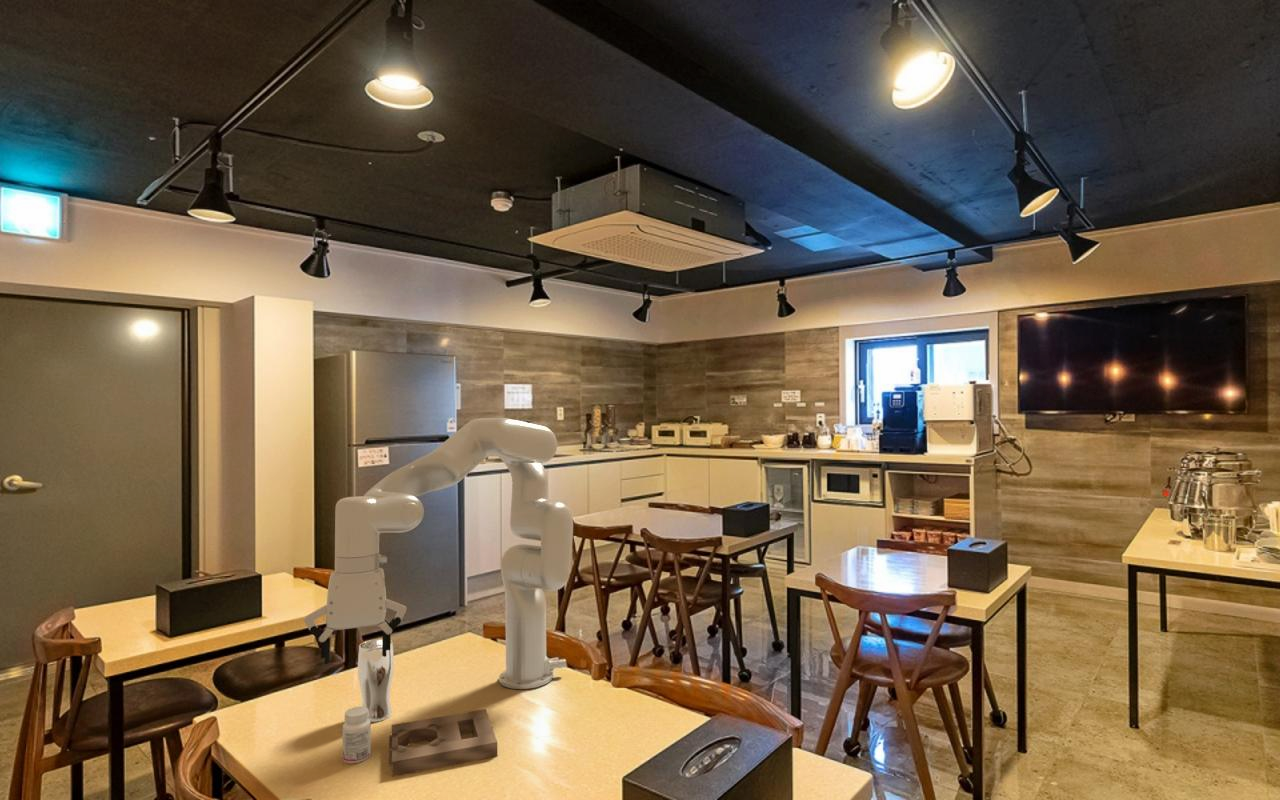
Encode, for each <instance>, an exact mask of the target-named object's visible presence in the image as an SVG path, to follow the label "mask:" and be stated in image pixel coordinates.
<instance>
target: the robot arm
mask: <svg viewBox="0 0 1280 800" xmlns="http://www.w3.org/2000/svg"><path fill="white" fill-rule="evenodd" d="M557 451H558V440H557V437H556V435H555V433H554V432H553V431H552V430H551V429H550V428H548V427H547V426H544V425H539V424H536V423H531V422H530V423H529V422H527V421H522V420H517V419H514V418H507V417H480V418H479V417H478V418H475V419H472V420H470V421H469V422H467V423H466V424H464V425H463V426H462V427H460V428H459V429H458V430H456V431H455V433H453V434H452V435H451V436H450V437H449V438H447V439H446V440H444V441H443V442H442V443H441V444H440V445H439V446H438V447H436V448H435V449H434V450H432V451H431V452H430V453H428V454H426V455H423V456H421V457H419V458H417V459H415V460H414V461H412V462H410V463H408V464H406V465H403V466H402V467H399V468H398V469H396V470H394V471H392V472H390V473H389V474H387V475H386V476H385V477H384V478H382V479H380V480H379V482H377V483H375V485H374V486H372V487H371V488H370V489H369V490H367V492H366V493H364V494H363V495H362V496H359V495H358V496H348V497H343V498H341V499H338V501H337V502H336V504H335V510H334V511H335V513H334V516H335V521H334V522H335V523H334V524H335V525H334V526H335V527H334V532H335V533H334V571H332V572H330V576H329V579H328V586H327V593H326V594H327V595H326V597H327V598H326V603H325V605H323V606H321V607H319V608H318V609H316V610H314V611H313V612H311V613H309V614H307V615H306V616H304V617H303V618H304V619H303V622H304V623H305V625H306V627H307V628H308V630H309V633H310V634H311V635H313V636H314V637H315V638H316V639H317V640H318V641H319V642H320V659H324V665H328V664H330V660H331V638H332V637H330V636H331V634H333V633H334V631H341V630H349V629H350V630H351V629H359V628H360V629H361V628H368V627H374V626H378V628H380V629H381V630H382V635H381V637H382V638H381V639H382V656H383V657H386V650H390V642H391V640H392V639H391V634H392V633H393V631H394V630H395V629H396V628H397V627H398V626H399V625H400V624H401V622H402V619H403V618H404V616H405V614H406V612H407V610H408V609H407V606H406V605H405V604H401V603H399V602H396V601H393V600H391V599H389V598H387V589H386V588H387V586H386V578H385V571H384V568H382V567H380V566H381V565H383V564H387V563H388V555H383V554H382V555H381V553H380V534H382V533H386V534H387V533H398V534H399V533H406V532H410V531H413V529H415V528H416V527H418V526H419V524H421V523H422V520H423V518H424V514H425V511H424V510H425V509H424V505H423V504H422V502H421V500H420V499H419V498H418V497H420V496H422V495H424V494H427V493H430V492H436V491H440V490H443V489H447V488H449V487H452V486H455V485H457V484H458V483H460V482H461V481H462V480H463V479H464V478H465V477H466V476H468V475H469V473H471V472H472V471H473V470H474V469H476V467H477V466H478V465H480V464H481V463H482V462H483V461H484V460H486V458H488V457H498V458H499V459H500V460H501V461H502V462H503V464H504V465H505V466H506V467H507V469H508V471H509V474H510V477H511V482H512V485H511V490H512V491H511V501H510V502H511V504H510V519H509V521H510V522H509V524H510V531H511V533H512V534H513V535H514V536H516V537H517V538H521V539H524V540H532V541H540V545H533V544H523V543H522V544H515V545H512V546H511V547H509V548H508V549H507V550H506V551H505V552H504V554H503V556H502V558H501V561H500V574H501V578H502V584H503V590H504V602H505V669H504V670H503V671H502V672H501V673H500V674H499V676H498V678H499V679H498V680H499V682H498V683H499V684H500V685H501V686H504V687H505V688H508V689H512V690H513V689H514V690H528V689H534V688H539V687H542V686H544V685H547V684H549V682H551V681H552V680H553V678H554V669H561V668H562V669H563V668H567V659H566V658H562V659H561V658H560V659H559V657H558V656H556V657H552V658H549V657H548V656H547V601H546V597H545V593H544V591H553V592H554V591H558V590H560V589H562V588H563V587H564V586H565V585H566V584H567V581H568V580H569V578H570V575H571V570H572V569H571V568H572V567H571V566H572V558H573V557H572V556H573V553H572V552H573V537H574V520H573V516H572V513H571V510H570V509H569V507H568V506H567V505H566V504H564V503H563V502H560V501H558V500H549V499H548V497H549V496H548V488H549V487H548V486H549V485H548V475H547V471H546V469H545V467H544V465H543V464H544V463H547V462H549V461H550V460H552V459H553V458H554V456H555V454H556V453H557ZM387 609H390V610H392V611H394V612H396V614H395V616H394V617H393V618H392V619H391V620H390V621H388V620H387V617H386V615H387ZM324 615H325V625H326V626H325V627H324V628H321V627H320V626H319V625H317V623H316V620H317V619H319V618H321V617H322V616H324Z"/></svg>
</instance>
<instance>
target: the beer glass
mask: <svg viewBox="0 0 1280 800" xmlns="http://www.w3.org/2000/svg"><path fill="white" fill-rule="evenodd" d="M393 643H394V642H393V640H392V639H391V642H390V650H386V657H383V656H382V638H374V639H370V640H366V641H363V642H361V643H360V644H359V645H358V654H357V655H358V658H357V674H358V680H359V681H358V682H359V686H360V693H361V698H362V699H361V701H362V703H361V705H362V706H361V707H367V708H368V713H369V717H368V718H369V719H370V721H371V723H378V722H381V720H382V721H384V719H385V720H387V719H388V718H390V717H391V716H392V714H393V713H392V707H391V701H390V699H391V698H390V697H391V696H390V693H391V687H392V682H393V681H392V680H393V673H394V666H395V661H394V657H395V656H394V646H393ZM389 716H390V717H389ZM386 718H387V719H386Z"/></svg>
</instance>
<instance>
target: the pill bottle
mask: <svg viewBox="0 0 1280 800" xmlns="http://www.w3.org/2000/svg"><path fill="white" fill-rule="evenodd" d="M368 717H369V713H368V708H367V707H362V706H355V707H352V708H349V709H348V710H346V711H345V712H344V723H343V725H342V760H343V762H344V763H346V764H358V763H362V762H364V761H366V760H367V759H369V758H370V757H371V756H372V755H371V754H372V745H371V744H372V743H371V741H372V739H371V738H372V736H371V735H372V734H371V733H372V732H371V727H372V726H371V723H372V722H371V721H370V719H369V718H368Z"/></svg>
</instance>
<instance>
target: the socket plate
mask: <svg viewBox="0 0 1280 800" xmlns="http://www.w3.org/2000/svg"><path fill="white" fill-rule="evenodd" d="M487 711H488V710H487V708H484V709H476V710H471V711H465V712H460V713H453V714H447V715H442V716H436V717H435V716H434V717H429V718H425V719H418V720H413V721H406V722H400V723H394V724H391V734H390V735H389V736H388V738H389V740H388V747H389V748H388V749H390V750H389V751H388V754H389V755H388V756H389V757H388V759H389V761H388V762H389V763H388V764H389V765H391V776H393V777H396V775H398V776H402V775H409V774H413V773H418V772H422V771H427V770H432V769H439V768H442V767H448V766H453V765H458V764H463V763H467V762H472V761H479V760H482V759H483V760H484V759H488V758H493V757H498V740H497V737H496V734H495V731H494V729H493V726H492V723H491V720H490V717H489V714H488V712H487ZM468 733H473V736H474V737H469V738H462V736H461V734H468ZM424 742H426V743H428V744H422V745H418V746H412V747H407V746H408V744H409V745H412V743H413V744H417V743H424Z"/></svg>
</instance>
